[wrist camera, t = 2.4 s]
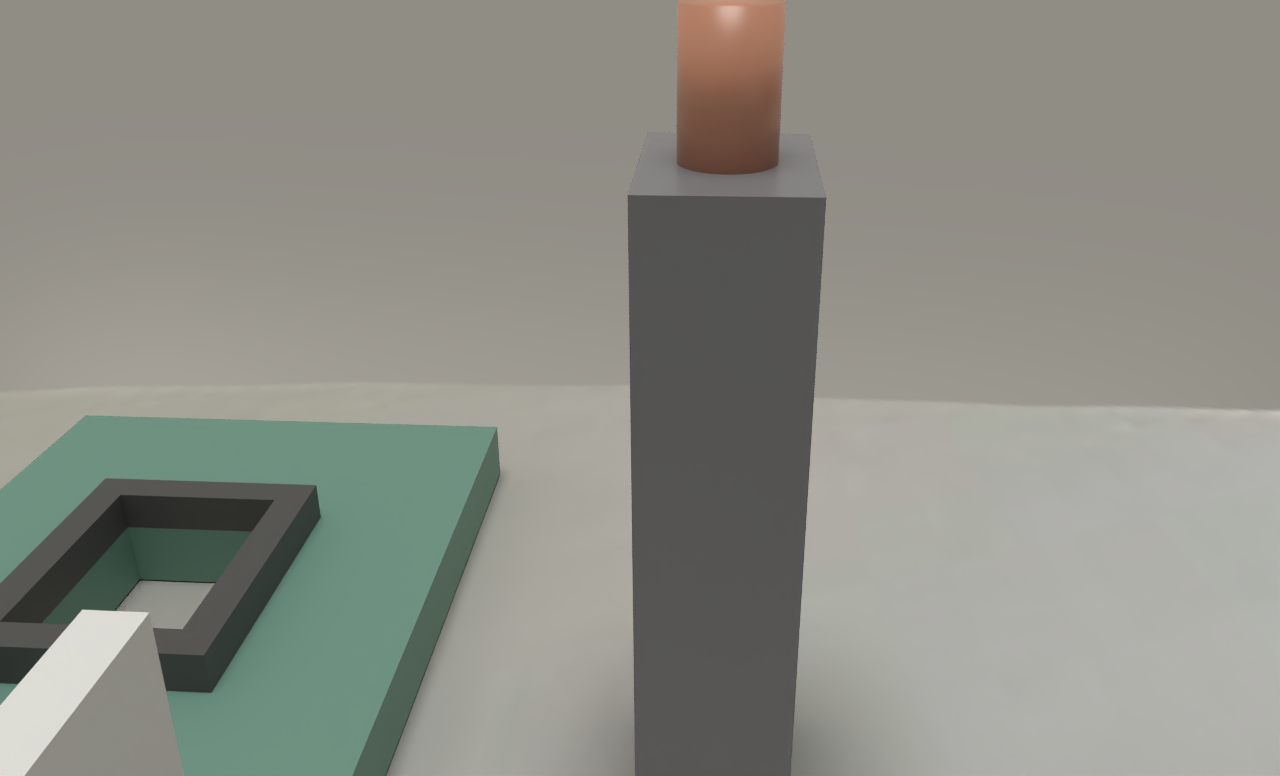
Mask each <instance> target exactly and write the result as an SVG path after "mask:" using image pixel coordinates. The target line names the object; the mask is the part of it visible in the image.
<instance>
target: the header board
mask: <svg viewBox="0 0 1280 776" xmlns="http://www.w3.org/2000/svg"><path fill="white" fill-rule="evenodd" d="M499 476H500V465H499V450H498V435H497V427H472V426H437V425H402V424H366V423H331V422H296V421H261V420H226V419H190V418H155V417H120V416H85V417H84V418H82V419H81V420H80V421H79V422H78V423H77V424H76V425H74V426H73V427H72V428H71V429H70V430H69V431H67V432H66V433H65V434H64V435H63V436H62V437H61V438H59V439H58V440H57V441H56V442H55V443H54V444H53V445H51V446H50V447H49V448H48V449H47V450H46V451H45V452H43V453H42V454H41V455H40V456H39V457H38V458H36V459H35V460H34V461H33V462H32V463H31V464H30V465H28V466H27V467H26V468H25V469H24V470H23V471H22V472H20V473H19V474H18V475H17V476H16V477H15V478H13V479H12V480H11V481H10V482H9V483H8V484H7V485H5V486H4V487H3V488H2V489H1V490H0V705H1V704H2V703H3V702H4V700H5V699H6V698H7V697H8V696H9V695H10V693H11V692H12V691H13V690H14V689H15V688H16V686H17V685H18V684H19V683H20V682H21V681H22V679H23V678H24V677H25V676H26V675H27V674H28V672H29V671H30V670H31V669H32V668H33V667H34V665H35V664H36V663H37V662H38V661H39V660H40V658H41V657H42V656H43V655H44V654H45V653H46V651H47V650H48V649H49V648H50V647H51V646H52V644H53V643H54V642H55V641H56V640H57V639H58V637H59V636H60V635H61V634H62V633H63V632H64V630H65V629H66V628H67V627H68V626H69V625H70V623H71V622H72V621H73V620H74V619H75V618H76V616H77V615H78V614H79V613H80V612H81V611H82V610H101V611H114V610H115V609H116V608H117V607H118V606H119V604H120V603H121V602H122V601H123V599H124V598H125V597H126V596H127V595H128V593H129V592H130V591H131V590H132V588H133V587H134V586H135V585H136V584H137V582H138V581H139V580H140V579H144V580H170V581H195V582H216V583H215V585H214V586H213V587H212V589H211V590H210V592H209V593H208V594H207V596H206V597H205V599H204V600H203V601H202V603H201V604H200V606H199V607H198V608H197V610H196V611H195V613H194V614H193V615H192V617H191V618H190V620H189V621H188V623H187V624H186V625H185V627H184V628H183V629H160V628H153V632H154V637H155V641H156V646H157V651H158V655H159V660H160V665H161V669H162V674H163V679H164V683H165V688H166V693H167V697H168V702H169V707H170V711H171V716H172V721H173V726H174V730H175V735H176V740H177V744H178V749H179V754H180V758H181V763H182V768H183V772H184V776H386V773H387V771H388V768H389V766H390V763H391V760H392V758H393V755H394V752H395V750H396V747H397V744H398V742H399V739H400V737H401V734H402V731H403V729H404V726H405V723H406V721H407V718H408V715H409V713H410V710H411V708H412V705H413V702H414V700H415V697H416V694H417V692H418V689H419V686H420V684H421V681H422V679H423V676H424V673H425V671H426V668H427V665H428V663H429V660H430V657H431V655H432V652H433V650H434V647H435V644H436V642H437V639H438V636H439V634H440V631H441V628H442V626H443V623H444V621H445V618H446V615H447V613H448V610H449V607H450V605H451V602H452V599H453V597H454V594H455V592H456V589H457V586H458V584H459V581H460V578H461V576H462V573H463V570H464V568H465V565H466V563H467V560H468V557H469V555H470V552H471V549H472V547H473V544H474V541H475V539H476V536H477V534H478V531H479V528H480V526H481V523H482V520H483V518H484V515H485V512H486V510H487V507H488V505H489V502H490V499H491V497H492V494H493V491H494V489H495V486H496V483H497V481H498V478H499Z"/></svg>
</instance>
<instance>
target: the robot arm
mask: <svg viewBox="0 0 1280 776" xmlns="http://www.w3.org/2000/svg"><path fill="white" fill-rule="evenodd" d="M0 776H184V772H183V768H182V763H181V758H180V754H179V749H178V744H177V740H176V735H175V730H174V726H173V721H172V716H171V711H170V707H169V702H168V697H167V693H166V688H165V683H164V679H163V674H162V669H161V665H160V660H159V655H158V651H157V646H156V641H155V637H154V632H153V627H152V623H151V618H150V613H147V612H124V611H101V610H82V611H81V612H80V613H79V614H78V615H77V616H76V618H75V619H74V620H73V621H72V622H71V623H70V625H69V626H68V627H67V628H66V629H65V630H64V632H63V633H62V634H61V635H60V636H59V637H58V639H57V640H56V641H55V642H54V643H53V644H52V646H51V647H50V648H49V649H48V650H47V651H46V653H45V654H44V655H43V656H42V657H41V658H40V660H39V661H38V662H37V663H36V664H35V665H34V667H33V668H32V669H31V670H30V671H29V672H28V674H27V675H26V676H25V677H24V678H23V679H22V681H21V682H20V683H19V684H18V685H17V686H16V688H15V689H14V690H13V691H12V692H11V693H10V695H9V696H8V697H7V698H6V699H5V700H4V702H3V703H2V704H1V705H0Z"/></svg>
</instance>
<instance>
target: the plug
mask: <svg viewBox="0 0 1280 776" xmlns="http://www.w3.org/2000/svg"><path fill="white" fill-rule="evenodd" d="M677 4H678V5H677V133H656V132H654V133H653V132H650V133H649V132H648V133H647V136H646V139H645V142H644V145H643V148H642V152H641V155H640V158H639V161H638V164H637V167H636V171H635V174H634V177H633V180H632V183H631V186H630V190H629V193H628V252H629V322H630V323H629V328H630V406H631V482H632V559H633V635H634V712H635V776H790V772H791V756H792V740H793V724H794V708H795V692H796V676H797V659H798V643H799V627H800V611H801V595H802V579H803V563H804V547H805V531H806V515H807V498H808V482H809V466H810V450H811V434H812V418H813V402H814V385H815V369H816V353H817V337H818V321H819V304H820V289H821V273H822V272H821V271H822V257H823V240H824V225H825V209H826V195H825V191H824V187H823V184H822V179H821V175H820V171H819V168H818V164H817V160H816V156H815V152H814V148H813V144H812V140H811V136H810V134H780V119H781V95H782V73H783V50H784V25H785V4H786V2H785V1H784V0H679V1H677Z"/></svg>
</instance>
